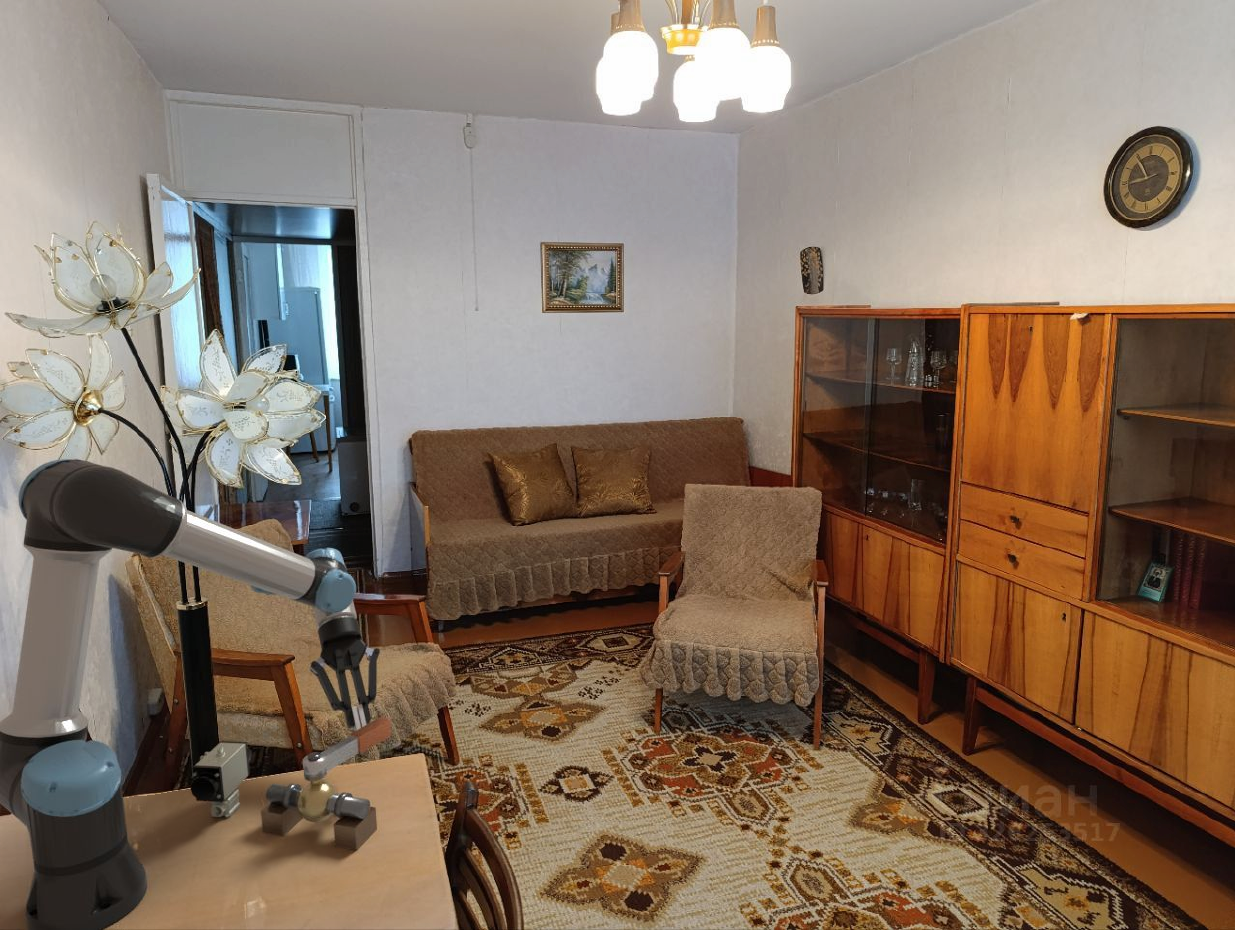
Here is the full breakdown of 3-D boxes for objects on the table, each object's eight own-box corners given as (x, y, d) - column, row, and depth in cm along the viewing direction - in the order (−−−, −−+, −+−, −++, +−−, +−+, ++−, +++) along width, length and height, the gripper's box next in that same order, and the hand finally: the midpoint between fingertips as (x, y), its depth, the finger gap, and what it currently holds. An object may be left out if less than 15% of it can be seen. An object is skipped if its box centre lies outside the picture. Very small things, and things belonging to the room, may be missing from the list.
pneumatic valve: (256, 793, 154) (250, 732, 152) (220, 832, 142) (213, 766, 140) (227, 792, 154) (221, 730, 152) (189, 830, 143) (182, 765, 141)
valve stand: (261, 833, 142) (256, 779, 140) (287, 811, 148) (282, 759, 146) (355, 851, 137) (351, 795, 135) (378, 828, 143) (374, 774, 141)
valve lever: (314, 784, 138) (312, 762, 138) (299, 778, 140) (297, 757, 139) (393, 736, 153) (392, 717, 153) (379, 732, 155) (377, 712, 155)
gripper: (370, 625, 170) (397, 739, 159) (299, 639, 164) (323, 758, 153) (375, 609, 164) (403, 725, 154) (302, 622, 158) (327, 745, 147)
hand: (363, 742), depth 153 cm, fingers closed
